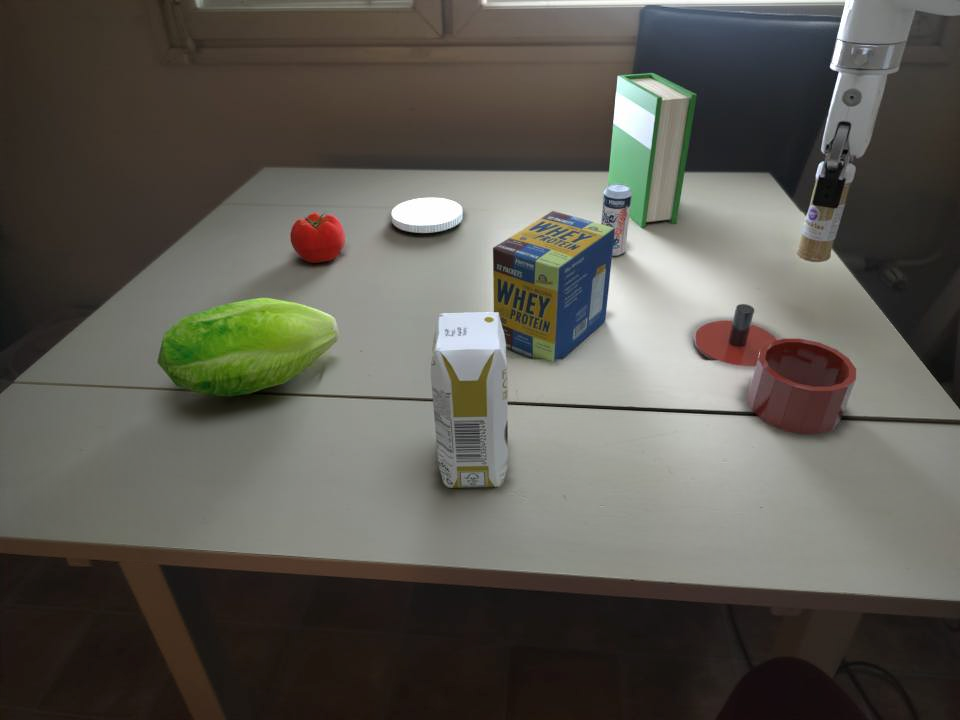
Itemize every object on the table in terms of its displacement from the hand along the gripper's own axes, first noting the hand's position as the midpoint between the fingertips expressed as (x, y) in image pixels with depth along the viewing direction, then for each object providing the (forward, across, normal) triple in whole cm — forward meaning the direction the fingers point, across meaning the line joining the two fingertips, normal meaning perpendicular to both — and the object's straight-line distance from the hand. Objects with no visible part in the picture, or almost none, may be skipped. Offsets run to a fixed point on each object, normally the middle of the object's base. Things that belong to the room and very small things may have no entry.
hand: (828, 198), depth 91 cm
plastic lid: (+17, 0, +70) cm, 72 cm away
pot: (+19, -25, -4) cm, 31 cm away
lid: (+18, -14, +6) cm, 23 cm away
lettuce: (+18, -55, +58) cm, 82 cm away
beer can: (+18, +6, +33) cm, 38 cm away
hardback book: (+18, +27, +36) cm, 49 cm away
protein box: (+18, -24, +30) cm, 42 cm away
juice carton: (+18, -54, +24) cm, 62 cm away
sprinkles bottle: (+9, 0, 0) cm, 9 cm away
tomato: (+17, -22, +78) cm, 83 cm away
